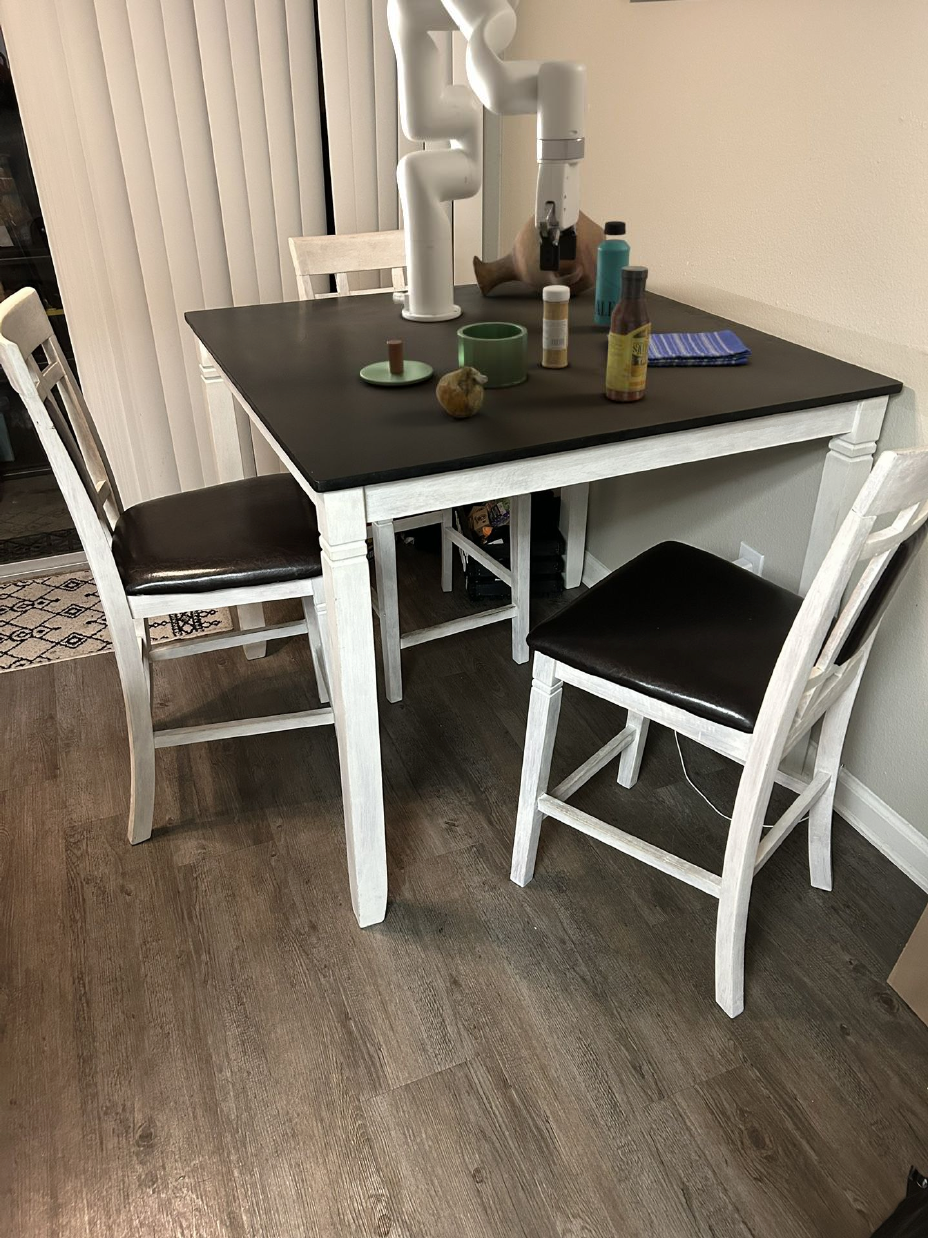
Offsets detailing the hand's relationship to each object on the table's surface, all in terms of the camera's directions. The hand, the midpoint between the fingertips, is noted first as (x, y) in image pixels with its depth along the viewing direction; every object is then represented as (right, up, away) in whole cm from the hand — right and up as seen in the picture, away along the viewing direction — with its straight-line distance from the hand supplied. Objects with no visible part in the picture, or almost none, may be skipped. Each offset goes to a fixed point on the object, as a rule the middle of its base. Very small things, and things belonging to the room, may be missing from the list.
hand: (558, 264), depth 154 cm
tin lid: (-28, -17, +5) cm, 33 cm away
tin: (-11, -18, +4) cm, 21 cm away
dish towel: (+23, -11, +14) cm, 29 cm away
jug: (+1, +14, +56) cm, 58 cm away
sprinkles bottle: (0, -15, +9) cm, 17 cm away
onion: (-16, -28, -11) cm, 34 cm away
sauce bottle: (+10, -24, -6) cm, 27 cm away
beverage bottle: (+13, -2, +30) cm, 32 cm away
